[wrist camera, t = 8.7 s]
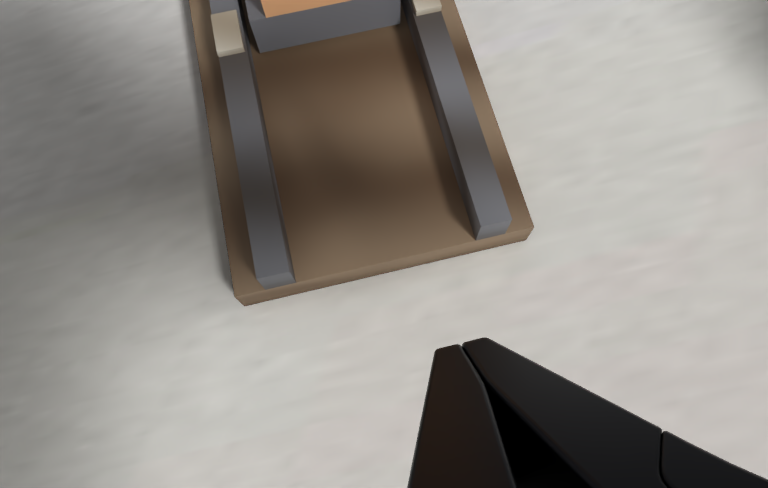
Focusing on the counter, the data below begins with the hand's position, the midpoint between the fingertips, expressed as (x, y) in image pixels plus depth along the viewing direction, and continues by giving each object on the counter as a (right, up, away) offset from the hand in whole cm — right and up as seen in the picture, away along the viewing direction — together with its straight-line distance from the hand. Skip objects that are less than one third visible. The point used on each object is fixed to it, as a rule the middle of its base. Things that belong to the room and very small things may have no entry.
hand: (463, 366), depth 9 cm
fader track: (-3, +9, +18) cm, 20 cm away
